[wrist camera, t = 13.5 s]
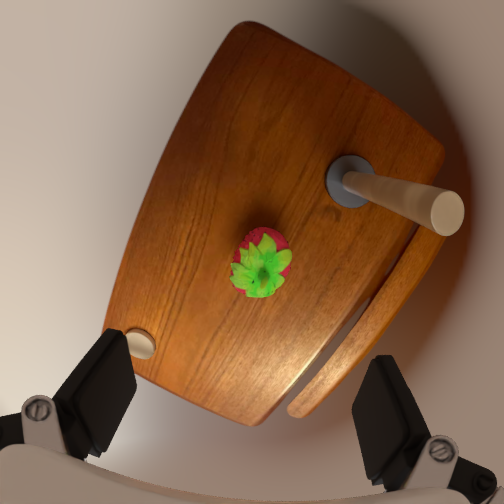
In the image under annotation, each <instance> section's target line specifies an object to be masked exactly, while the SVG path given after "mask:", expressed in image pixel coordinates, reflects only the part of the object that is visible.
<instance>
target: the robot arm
mask: <svg viewBox="0 0 504 504" xmlns="http://www.w3.org/2000/svg"><path fill="white" fill-rule="evenodd" d="M136 389H137V384H136V379H135V375H134V370H133V366H132V361H131V356H130V351H129V346H128V341H127V337H126V336H125V335H123V332H122V331H120V330H115V329H110V328H108V329H106V330H105V332H104V333H103V334H102V335H101V336H100V338H99V339H98V340H97V341H96V343H95V344H94V345H93V346H92V348H91V349H90V350H89V351H88V353H87V354H86V355H85V356H84V358H83V359H82V360H81V361H80V363H79V364H78V365H77V366H76V368H75V369H74V370H73V371H72V373H71V374H70V376H69V377H68V378H67V379H66V381H65V382H64V383H63V384H62V386H61V387H60V388H59V390H58V391H57V392H56V394H55V395H54V396H53V398H52V399H51V398H49V397H47V396H44V395H36V396H32V397H30V398H29V399H27V400H26V401H25V402H24V404H23V406H22V411H21V412H20V413H16V414H11V415H6V416H1V417H0V504H504V488H503V487H502V486H500V487H499V488H498V487H497V480H496V477H495V474H494V473H493V472H492V471H490V470H489V469H487V468H484V467H482V466H479V465H477V464H475V463H472V462H470V461H468V460H466V459H463V458H461V457H459V456H458V453H459V451H458V446H457V445H456V443H455V442H454V441H453V440H452V439H451V438H449V437H448V436H444V435H436V436H433V437H431V434H430V432H429V430H428V428H427V425H426V423H425V421H424V418H423V416H422V414H421V412H420V410H419V408H418V406H417V403H416V402H415V399H414V397H413V395H412V393H411V391H410V389H409V388H408V386H407V384H406V382H405V380H404V378H403V376H402V374H401V372H400V370H399V368H398V366H397V364H396V362H395V360H394V358H393V357H392V356H391V355H378V356H376V358H375V359H372V360H371V362H370V364H369V367H368V370H367V372H366V375H365V377H364V380H363V382H362V384H361V387H360V389H359V391H358V394H357V396H356V398H355V401H354V403H353V406H352V415H353V419H354V423H355V427H356V431H357V436H358V440H359V444H360V448H361V453H362V457H363V461H364V466H365V471H366V475H367V478H368V479H369V480H371V481H372V485H373V486H374V485H380V484H384V488H385V491H384V492H383V493H381V494H375V495H368V496H362V497H353V498H345V499H334V500H320V501H294V502H293V501H292V502H291V501H289V502H287V501H254V500H242V499H231V498H223V497H214V496H208V495H202V494H196V493H190V492H185V491H180V490H175V489H171V488H166V487H162V486H158V485H154V484H150V483H147V482H143V481H140V480H136V479H133V478H130V477H126V476H123V475H120V474H117V473H114V472H111V471H108V470H106V469H103V468H100V467H97V466H95V465H92V464H89V463H87V461H86V458H87V456H88V454H91V455H93V456H96V457H98V458H99V457H100V455H101V453H102V452H106V451H107V449H108V447H109V445H110V443H111V441H112V438H113V436H114V434H115V432H116V430H117V428H118V426H119V424H120V422H121V420H122V418H123V416H124V414H125V412H126V410H127V408H128V406H129V404H130V402H131V400H132V398H133V396H134V394H135V392H136Z"/></svg>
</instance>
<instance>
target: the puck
mask: <svg viewBox="0 0 504 504" xmlns="http://www.w3.org/2000/svg"><path fill="white" fill-rule="evenodd" d="M125 336H126V337H127V341H128V346H129V351H130V354H132V355H133V356H135V357H137V358H140V359H148V358H150V357H152V355H153V354H154V352H155V350H156V344H155V341H154V339H153V338H152V337H151V336H150V335H149V334H148V333H147V332H145V331H143V330H140V329H132V330H130V331H129V332H128V333H127V334H126V335H125Z"/></svg>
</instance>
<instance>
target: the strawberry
mask: <svg viewBox="0 0 504 504" xmlns="http://www.w3.org/2000/svg"><path fill="white" fill-rule="evenodd" d="M234 253H235V255H234V257H233V259H234V261H233V262H232V263H231V267H232V271H231V275H230V277H229V278H230V279H231V281H232V284H233V287H235V288H236V290H237V291H239V292H241V293H243V294H246V296H247V297H261V298H262V297H266V296H270V295H272V294H274V292H275V290H276V289H277V288H279V287H280V286H281V285H282V284H283V282H284V281H285V280H284V279H285V277H286V276H287V275H288V272H289V270H290V269H291V267H290V264H291V259H292V252H291V250H289V245H288V241H286V240H285V238H284V236H283V235H282V234H280V233H279V231H276V230H274V229H272V228H266V227H265V226H264V227H259V228H254V230H253V231H250V234H249V235H248V234H247V235H246V236H245V239H244V240H242V243H241V244H239V246H238V249H237V250H236V251H235V252H234Z"/></svg>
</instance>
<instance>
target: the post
mask: <svg viewBox="0 0 504 504" xmlns="http://www.w3.org/2000/svg"><path fill="white" fill-rule="evenodd" d="M325 186H326V190H327V192H328V194H329V196H330V197H331V198H332V199H333V200H334V201H335V202H336V203H338V204H339V205H341V206H344V207H348V208H356V207H360V206H362V205H364V204H366V203H367V202H368V201H372V202H374V203H376V204H378V205H381V206H383V207H385V208H387V209H389V210H392V211H394V212H396V213H398V214H400V215H402V216H404V217H406V218H408V219H410V220H412V221H414V222H416V223H418V224H420V225H422V226H424V227H426V228H428V229H430V230H432V231H434V232H436V233H438V234H440V235H443V236H448V235H451V234H453V233H455V232H456V231H457V230H458V229H459V227H460V226H461V224H462V221H463V218H464V206H463V202H462V200H461V198H460V197H459V196H458V195H457V194H456V193H455V192H453V191H449V190H445V189H441V188H437V187H433V186H428V185H424V184H419V183H415V182H410V181H405V180H400V179H395V178H390V177H385V176H379V175H375V172H374V170H373V168H372V166H371V165H370V164H369V163H368V162H367V161H366V160H365V159H363V158H361V157H359V156H355V155H345V156H341V157H339V158H337V159H335V160H334V161H333V162H332V163H331V164H330V165H329V167H328V169H327V171H326V175H325Z"/></svg>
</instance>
